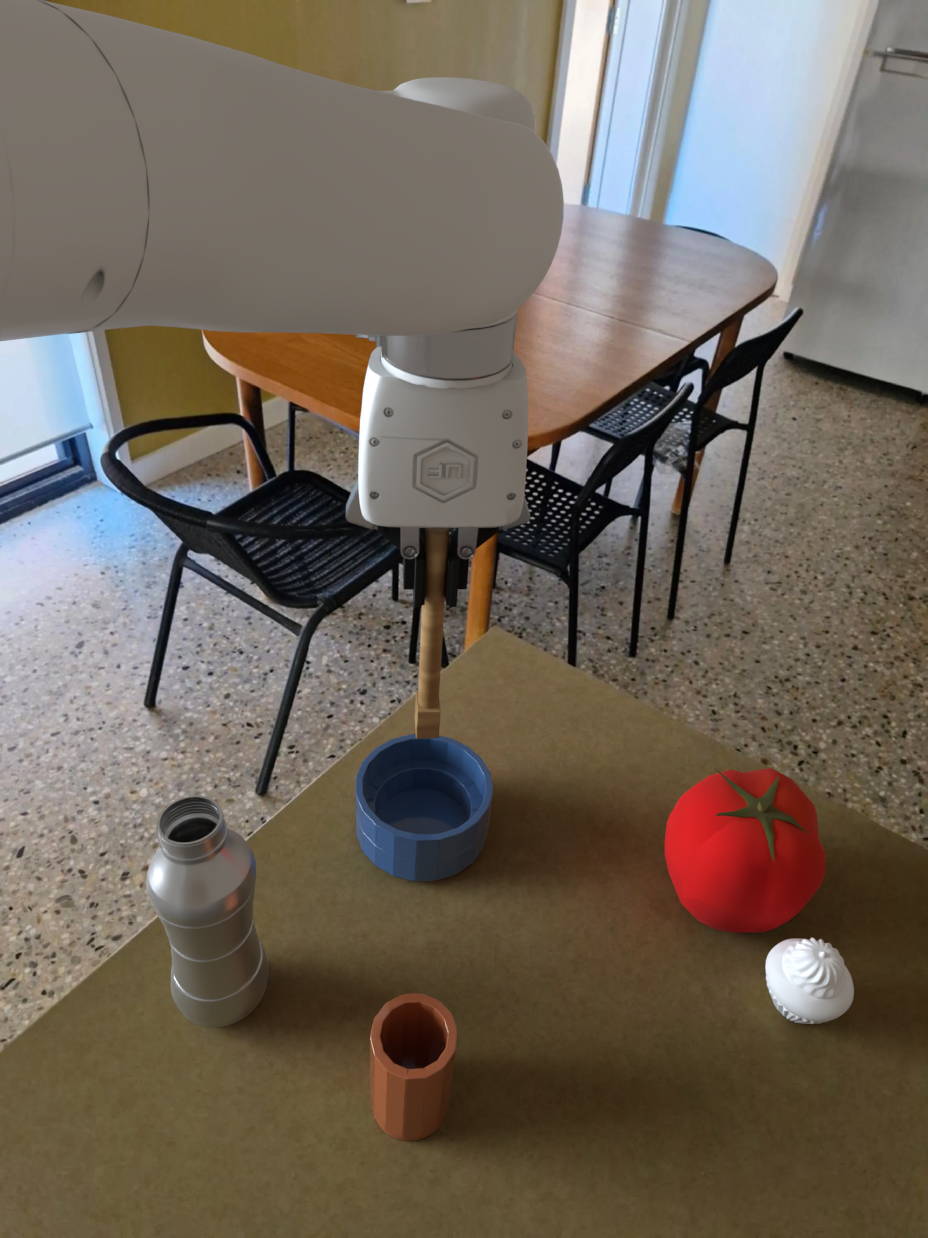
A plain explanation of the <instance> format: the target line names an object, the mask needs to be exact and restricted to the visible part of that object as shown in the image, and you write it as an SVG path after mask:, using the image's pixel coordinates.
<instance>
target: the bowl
mask: <svg viewBox="0 0 928 1238" xmlns="http://www.w3.org/2000/svg"><path fill="white" fill-rule="evenodd" d="M493 797H494V786H493V779H492V774H491V771H490V770H489V768H488V767H487V765H486V763H485V761H484V759H483V758H482V757H481V756H480V755H479V754H477V752H475V751H474V750H473V749H472V748H471V747H470V746H469V745H466V744H464V743H462V742H460V741H459V740H456V739H454V738H452V737H448V736H445V735H444V736H443V735H439V738H424V739H417V738H416V733H410V734H405V735H402V736H398V737H394V738H391V739H389V740H387V741H385V742H384V743H382V744H381V745H379V746H377V747H375V748H374V749H373V750H372V751H371V752H370V753H369V754H368V755H367V756H366V757H365V759H363V760H362V762H361V764H360V766H359V768H358V770H357V773H356V776H355V836H356V839H357V841H358V843H359V845H360V848H361V851H362V853H363V854H364V855H365V856H366V857H367V858H368V859H369V861H371V863H373V865H374V866H375V867H377V868H378V869H380V870H382V871H384V872H385V873H387V874H389V875H391V876H392V877H395V878H398V879H403V880H408V881H411V882H431V881H432V882H433V881H434V882H435V881H439V880H442V879H446V878H449V877H452V876H454V875H457V874H459V873H461V872H462V871H463V870H464V869H465V868H467V867H468V866H471V865H472V864H473V863H474V862H475V861H476V859H477V858H478V857H479V855H480V854H481V852H482V851H483V849H484V848H485V844H486V842H487V841H486V840H487V836H488V833H489V826H490V818H491V812H492V811H491V810H492V804H493Z"/></svg>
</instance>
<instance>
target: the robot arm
mask: <svg viewBox="0 0 928 1238" xmlns="http://www.w3.org/2000/svg"><path fill="white" fill-rule="evenodd" d="M536 132H537V119H536V114H535V110H534V108H533V105H532V104H531V101H529V100H528V98H527V97H526V95H525V94H524V93H522V92H521V91H518V90H517V89H515V88H513V87H511V86H508V85H505V84H502V83H497V82H493V81H488V80H482V79H477V78H468V77H467V78H466V77H454V76H453V77H450V76H449V77H447V76H446V77H445V76H441V77H440V76H439V77H422V78H415V79H411V80H409V81H405V82H403V83H400V84H399V85H398V86H397V87H395V88H394V89H393V90H375V89H371V88H366V87H363V86H358V85H354V84H350V83H346V82H344V81H339V80H336V79H331V78H328V77H325V76H321V75H318V74H314V73H311V72H308V71H307V72H306V71H304V70H301V69H297V68H294V67H291V66H287V65H284V64H281V63H278V62H275V61H272V60H269V59H267V58H264V57H260V56H259V55H255V54H252V53H248V52H246V51H242V50H238V49H234V48H232V47H228V46H224V45H221V44H217V43H214V42H211V41H207V40H203V39H201V38H197V37H194V36H191V35H190V36H189V35H185V34H182V33H179V32H174V31H170V30H166V29H162V28H158V27H155V26H151V25H147V24H143V23H139V22H136V21H132V20H127V19H124V18H120V17H117V16H112V15H109V14H105V13H99V12H96V11H91V10H86V9H83V8H79V7H78V8H77V7H73V6H69V5H64V4H60V3H55V2H51V1H48V0H0V342H7V341H15V340H23V339H24V340H25V339H32V338H39V337H49V336H50V337H51V336H59V335H70V334H71V335H72V334H73V335H74V334H82V333H90V332H97V331H108V330H114V329H115V330H116V329H126V328H127V329H128V328H136V327H150V326H151V327H152V326H153V327H169V328H180V329H191V330H202V331H210V332H226V333H227V332H228V333H293V334H295V333H297V334H331V335H333V334H334V335H352V336H354V335H355V339H368V341H369V342H375V349H373V350H372V351H371V353H370V356H369V360H368V364H367V368H366V372H365V377H364V383H363V389H362V399H361V408H360V409H361V410H360V417H359V433H358V434H359V435H358V462H357V463H358V464H357V478H356V480H355V483H354V485H353V488H352V490H351V492H350V494H349V496H348V498H347V499H348V500H347V502H346V503H345V520H346V521H347V522H348V523H350V524H353V525H356V526H359V527H362V528H366V529H368V530H375V531H378V533H379V534H380V535H381V536H383V537H384V538H385V539H386V540H387V541H389V542H390V543H391V544H392V545H393V546H395V547H396V548H397V549H398V550H399V551H400V555H401V557H402V558H403V559H402V560H403V562H402V564H403V565H402V589H403V590H404V591H405V590H408V591H410V590H412V597H413V598H412V599H413V608H422V605H425V586H426V552H425V550H424V545H425V537H423V533H422V532H420V529H425V528H450V529H453V530H452V532H451V533H449V547H448V556H447V572H446V588H445V606H448V607H449V608H457V607H458V597H459V596H458V594H459V590H467V589H468V579H469V578H468V577H469V566H470V559H472V558H474V556H475V555H476V552H477V551H476V550H477V549H478V548H479V547H481V546H482V545H483V544H484V543H486V542H487V541H489V540H490V539H491V538H493V537H494V536H495V535H497V533H498V532H499V531H501V530H502V531H506V530H509V529H512V528H515V527H518V526H522V525H526V524H527V523H529V521H531V512H530V509H529V505H528V502H527V499H526V496H525V491H526V476H527V462H528V461H527V460H528V446H529V445H528V442H529V441H528V439H529V390H528V389H529V388H528V379H527V371H526V367H525V365H524V363H523V361H522V360H521V358H520V357H519V355H517V354H516V353H515V352H514V350H515V349H514V348H515V340H516V329H517V319H518V311H519V308H520V307H521V306H522V305H524V304H525V303H526V302H527V301H528V300H529V299H530V297H532V295H533V294H534V293H535V292H536V291H537V289H538V287H539V286H540V285H541V283H542V282H543V281H544V279H545V277H546V276H547V274H548V272H549V270H550V268H551V266H552V264H553V261H554V259H555V256H556V254H557V252H558V248H559V244H560V240H561V236H562V231H563V224H564V217H565V216H564V214H565V213H564V212H565V210H564V209H565V199H564V189H563V182H562V179H561V175H560V171H559V168H558V165H557V162H556V161H555V158H554V156H553V154H552V152H551V150H550V149H549V147H548V146H547V144H546V142H545V141H544V140H543V139H542V137H540V135H538V134H537V133H536Z"/></svg>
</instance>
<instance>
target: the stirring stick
mask: <svg viewBox="0 0 928 1238" xmlns="http://www.w3.org/2000/svg"><path fill="white" fill-rule="evenodd" d="M450 530H451V528H424V540H425V545H424V550H425V552H426V586H425V605H422V607H421V617H420V618H421V619H420V639H419V661H418V686H417V687H418V688H417V691H416V692H415V699H414V700H415V703H414V729H415V730H414V731H415V734H416V738H417V739H424V738H439V736H440V728H441V712H442V711H441V710H442V709H441V702H440V687H441V686H440V685H441V669H442V668H441V667H442V656H443V655H442V654H443V639H444V638H443V637H444V621H445V610H446V609H445V608H446V601H445V588H446V572H447V556H448V547H449V534H450V532H451V531H450Z"/></svg>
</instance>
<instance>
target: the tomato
mask: <svg viewBox="0 0 928 1238" xmlns="http://www.w3.org/2000/svg"><path fill="white" fill-rule="evenodd" d="M714 769H715V770H716V771H717V773H713V774H710V775H708V776H706V777H705V778H703V779H702V780H700V781H698V782H697V783H696V784H695V785H693V786H692V787H690V788H689V789H688V790H686V792H684V793H682V795H681V796H680V797H679V799H678V800H677V802H676V804H675V805H674V807H673V809H672V810H671V812H670V814H669V816H668V819H667V821H666V828H665V836H664V859H665V863H666V867H667V870H668V871H667V872H668V875H669V877H670V879H671V882H672V885H673V887H674V890H675V892H676V895H677V898H678V900H679V902H680V904H681V905H682V906H683V907H684V909H686V910H687V912H689V913H690V914H691V915H692V916H693V917H694V918H695V920H697V921H698V922H699V923H701V924H703V925H705V926H707V927H708V928H711V929H713V930H715V931H720V932H728V933H736V934H737V933H738V934H747V933H748V934H749V933H751V934H752V933H753V934H754V933H766V932H769V931H772V930H774V929H776V928H778V927H780V926H782V925H784V924H787V923H788V922H789V921H790V920H791V919H793V918H794V917H796V915H798V914H799V913H801V912H802V911H803V909H804V908H805V907H806V905H807V904H808V903H809V902H810V900H811V899H812V898H813V896H814V895H815V894H816V893H817V891H818V890H819V889H820V887H821V886H823V881H824V877H825V873H826V869H827V866H826V860H827V859H826V850H825V848H824V846H823V844H822V842H821V840H820V834H819V823H818V813H817V810H816V807H815V804H814V802H813V801H811V799H810V797H808V795H807V794H806V793H805V792H804V791H803V789H802V788H801V787H800V786H799V785H798V784H797V783H796V782H795V781H794V780H793V779H792V778H791V777H789V776H787V775H785V774H784V773H782V772H780V771H778V770H776V769H774V768H772V767H768V768H767V767H766V768H761V769H757V770H750V771H744V772H743V771H739V770H734V769H726V770H724V771H720V770H718V769H717V768H716V767H714Z"/></svg>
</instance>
